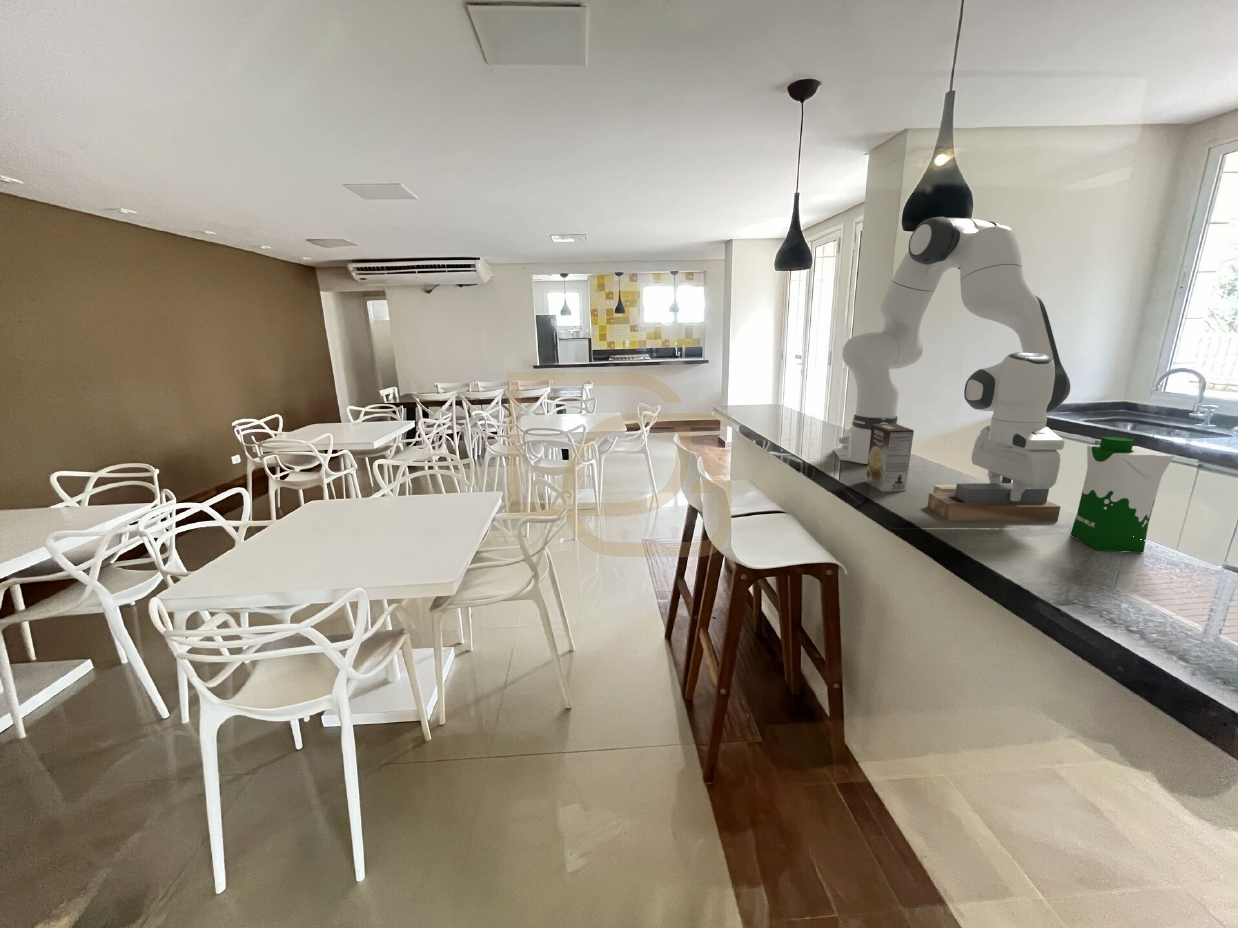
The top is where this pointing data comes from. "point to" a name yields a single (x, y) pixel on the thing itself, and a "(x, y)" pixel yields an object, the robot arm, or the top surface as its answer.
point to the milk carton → (1118, 494)
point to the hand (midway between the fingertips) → (1004, 495)
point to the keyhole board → (991, 509)
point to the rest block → (944, 489)
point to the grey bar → (996, 493)
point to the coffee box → (889, 457)
